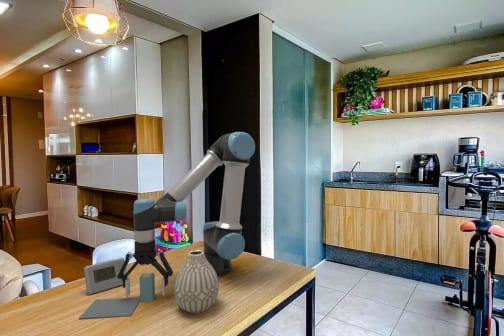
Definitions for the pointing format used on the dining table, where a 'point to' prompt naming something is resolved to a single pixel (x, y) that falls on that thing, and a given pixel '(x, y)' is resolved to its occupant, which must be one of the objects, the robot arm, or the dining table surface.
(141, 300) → the block
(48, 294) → the dining table surface
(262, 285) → the dining table surface
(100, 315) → the mat
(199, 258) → the vase
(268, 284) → the dining table surface
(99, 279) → the digital clock
